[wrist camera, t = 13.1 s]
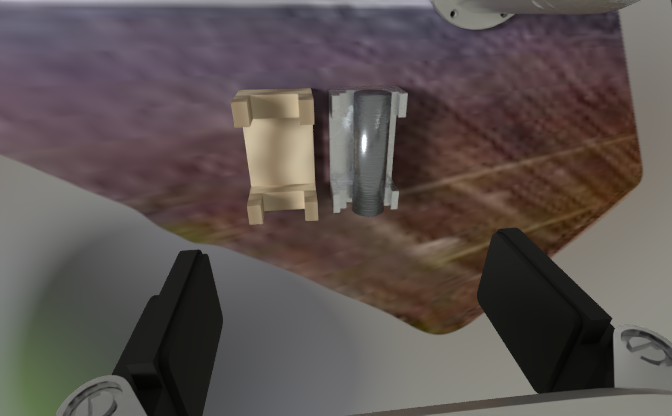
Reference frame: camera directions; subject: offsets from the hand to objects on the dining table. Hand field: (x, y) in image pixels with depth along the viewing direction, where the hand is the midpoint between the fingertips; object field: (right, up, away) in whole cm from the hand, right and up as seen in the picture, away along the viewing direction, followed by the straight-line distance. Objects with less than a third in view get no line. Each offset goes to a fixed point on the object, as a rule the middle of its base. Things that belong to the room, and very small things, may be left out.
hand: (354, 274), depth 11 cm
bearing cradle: (-7, +10, +31) cm, 33 cm away
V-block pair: (+3, +10, +32) cm, 34 cm away
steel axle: (+3, +9, +30) cm, 32 cm away
